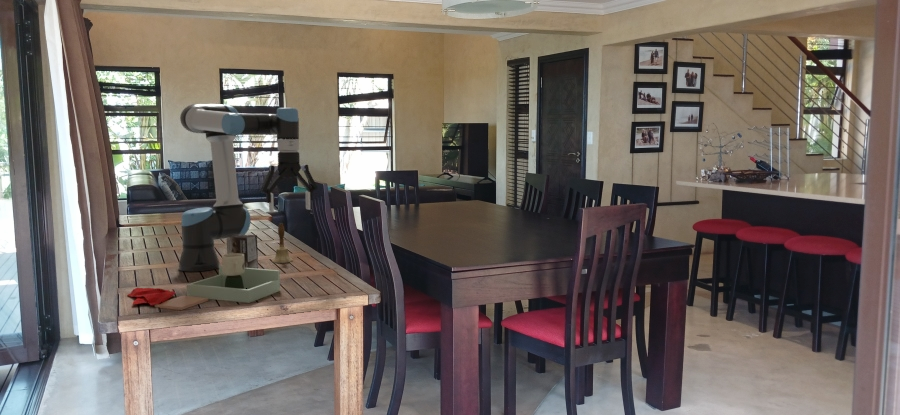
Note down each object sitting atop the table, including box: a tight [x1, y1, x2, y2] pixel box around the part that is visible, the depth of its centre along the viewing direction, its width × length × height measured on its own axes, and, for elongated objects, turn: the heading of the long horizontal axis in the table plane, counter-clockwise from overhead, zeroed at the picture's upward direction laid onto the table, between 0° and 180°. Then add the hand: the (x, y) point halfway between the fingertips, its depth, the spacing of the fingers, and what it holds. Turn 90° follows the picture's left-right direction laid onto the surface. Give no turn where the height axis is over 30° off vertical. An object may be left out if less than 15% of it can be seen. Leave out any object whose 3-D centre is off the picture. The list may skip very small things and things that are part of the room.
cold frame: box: [186, 265, 281, 304], centre depth 222 cm, size 24×17×7 cm
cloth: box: [126, 287, 176, 306], centre depth 216 cm, size 26×14×2 cm, turn 29°
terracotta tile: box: [154, 295, 209, 311], centre depth 210 cm, size 10×12×1 cm
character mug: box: [221, 253, 245, 289], centre depth 222 cm, size 11×7×13 cm, turn 32°
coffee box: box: [225, 234, 259, 269], centre depth 244 cm, size 9×6×16 cm
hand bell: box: [271, 222, 294, 264], centre depth 278 cm, size 8×8×16 cm
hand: (290, 210), depth 242 cm, fingers open, 13 cm apart
